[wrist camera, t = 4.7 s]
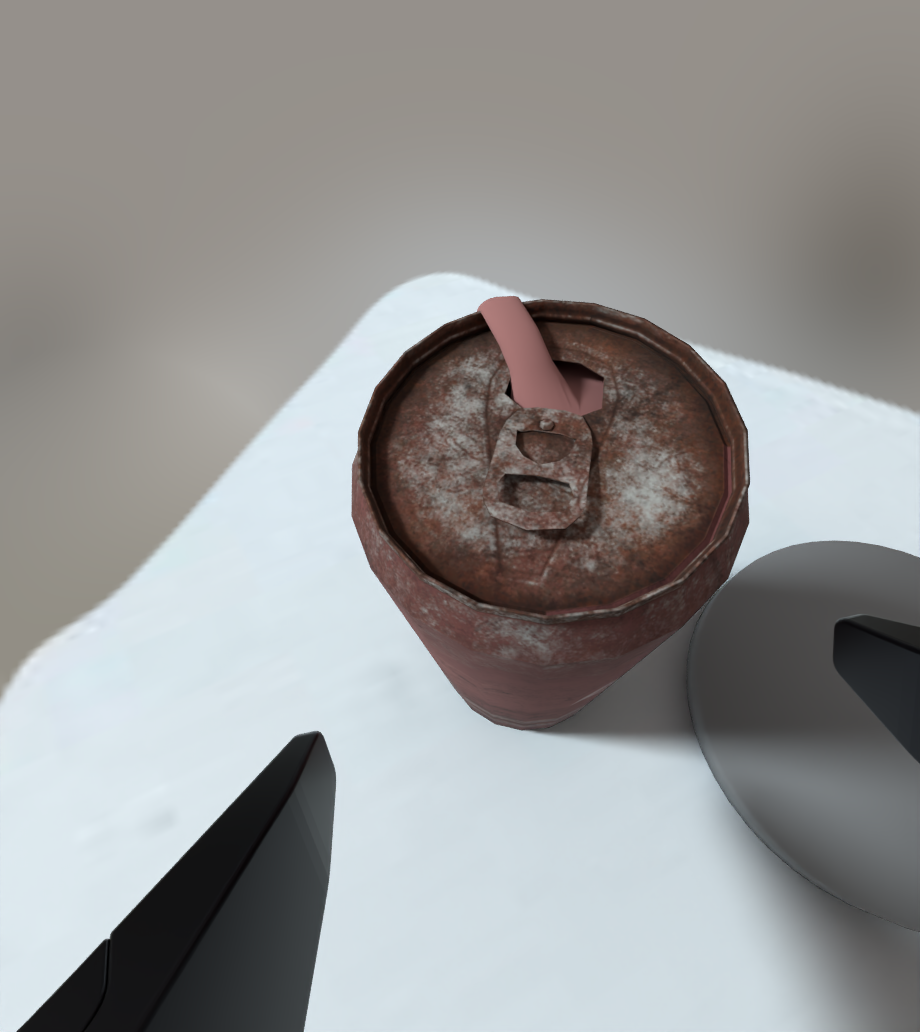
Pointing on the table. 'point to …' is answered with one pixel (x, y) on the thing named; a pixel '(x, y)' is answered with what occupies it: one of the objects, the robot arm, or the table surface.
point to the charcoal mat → (811, 721)
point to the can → (549, 498)
